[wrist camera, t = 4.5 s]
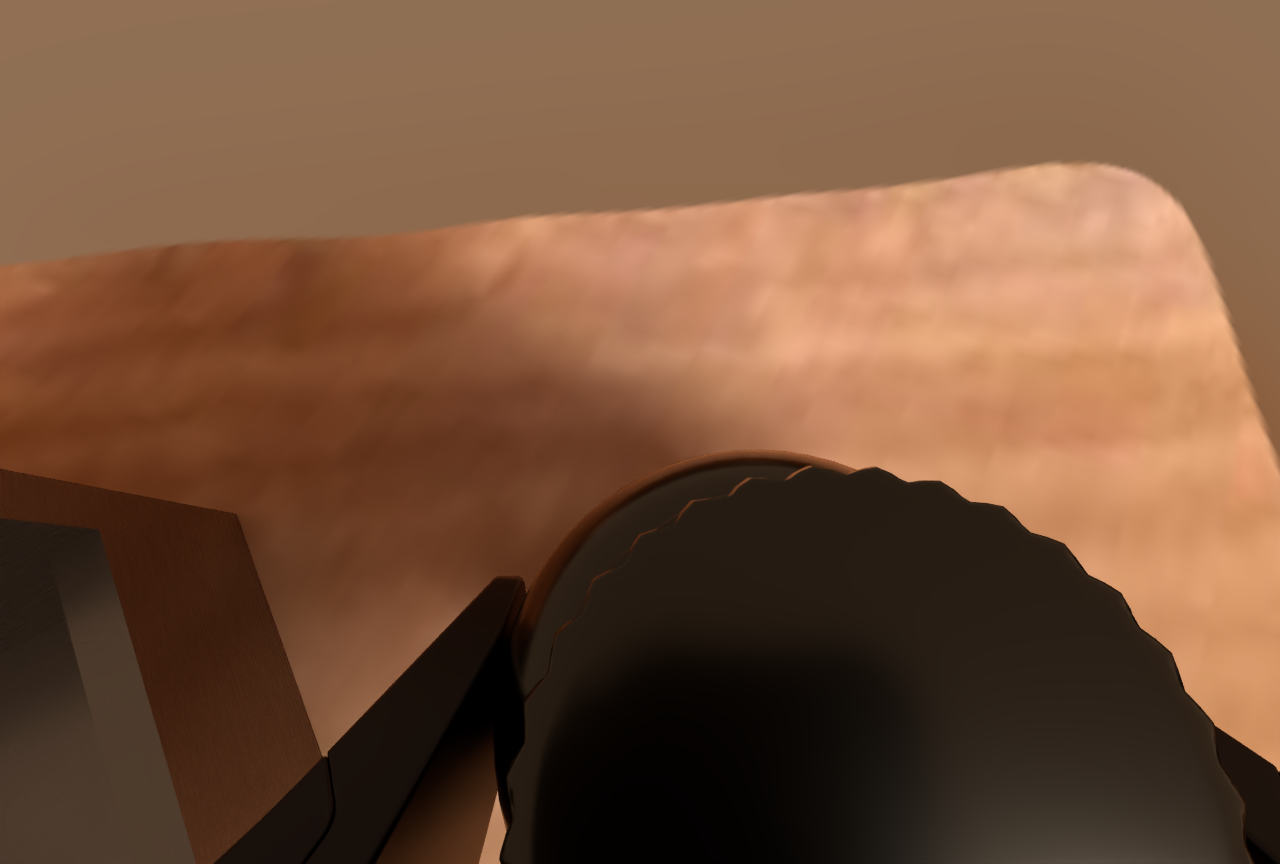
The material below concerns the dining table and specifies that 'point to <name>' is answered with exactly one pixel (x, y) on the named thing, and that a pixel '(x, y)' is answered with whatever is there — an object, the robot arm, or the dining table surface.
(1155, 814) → the supplement bottle
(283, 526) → the dining table surface
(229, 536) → the condiment caddy
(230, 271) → the dining table surface
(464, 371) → the dining table surface
